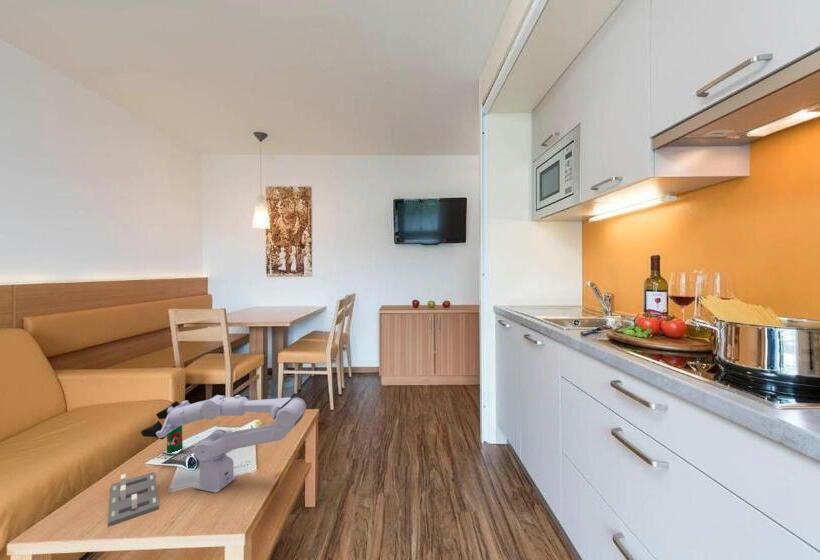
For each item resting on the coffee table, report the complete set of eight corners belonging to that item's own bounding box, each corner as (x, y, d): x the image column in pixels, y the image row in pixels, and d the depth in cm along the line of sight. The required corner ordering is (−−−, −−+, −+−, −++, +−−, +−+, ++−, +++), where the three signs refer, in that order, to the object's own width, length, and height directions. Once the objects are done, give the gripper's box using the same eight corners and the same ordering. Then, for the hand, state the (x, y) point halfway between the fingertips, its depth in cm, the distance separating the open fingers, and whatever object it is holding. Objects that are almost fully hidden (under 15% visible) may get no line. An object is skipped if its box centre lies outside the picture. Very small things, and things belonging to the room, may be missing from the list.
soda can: (185, 449, 134) (185, 418, 134) (175, 456, 129) (175, 424, 129) (173, 448, 135) (173, 417, 134) (163, 455, 129) (162, 423, 129)
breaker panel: (154, 474, 117) (154, 462, 117) (158, 508, 100) (158, 494, 100) (111, 487, 110) (111, 474, 110) (108, 526, 93) (108, 511, 93)
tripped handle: (136, 502, 101) (136, 493, 101) (137, 507, 98) (137, 498, 98) (131, 504, 100) (131, 494, 100) (131, 509, 98) (131, 500, 98)
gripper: (194, 389, 118) (158, 400, 118) (169, 421, 104) (127, 432, 105) (205, 405, 120) (169, 415, 121) (181, 438, 106) (140, 449, 107)
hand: (150, 424), depth 113 cm, fingers open, 7 cm apart
